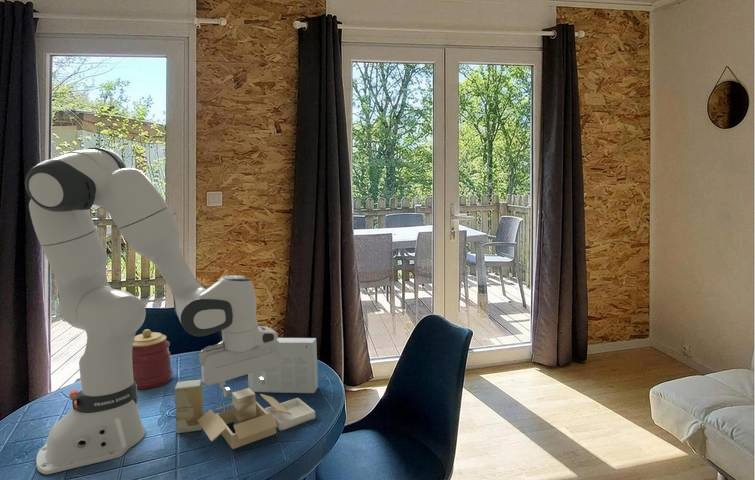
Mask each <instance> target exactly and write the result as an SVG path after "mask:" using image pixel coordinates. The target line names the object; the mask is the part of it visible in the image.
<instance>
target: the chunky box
mask: <svg viewBox="0 0 755 480" xmlns="http://www.w3.org/2000/svg"><path fill="white" fill-rule="evenodd" d="M231 398H232V399H231V403H232V404H233V405H232V409H233V420H234V422H233V425H235V424H239V423H242V422H245V421H248V420H251V419H254V418H257V416H256V402H257V401H256V392H253V391H252V390H251V389H250V388H249V387H247V388H244V389H240V390H237V391H233V392H231ZM233 430H234V431H235V429H234V428H233Z"/></svg>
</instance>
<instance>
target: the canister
mask: <svg viewBox="0 0 755 480" xmlns="http://www.w3.org/2000/svg"><path fill="white" fill-rule="evenodd" d="M170 345H171V343H170V341H169V340H167V335H165V334H163V333H161V332H159V331H158V332H156V331H151V329H148V328H147V329H143V331H142V332H141V333H140V334H137V335H135V338H134V342H133V348H132V363H133V378H134V379H135V382H136V384H137V390H147V389H148V390H149V389H153V388H157V387H160V386H162V385H165V384H167V383H168V382H170V380H171V379H172V375H173V369H172V362H171V361H172V360H171V351H169V347H170Z"/></svg>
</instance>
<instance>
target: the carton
mask: <svg viewBox="0 0 755 480" xmlns="http://www.w3.org/2000/svg"><path fill="white" fill-rule="evenodd" d="M260 396H261V397H262V398H263V399H264V401H266V403H268V404H269V405H270V406H273V407H274V408H275V409H276V410H277V411H278V412H281V413H285V414H289V415H291V413H290V412H289V411H288V410H287V409H285V408H284V407H283V406H282V405H281V404H280V403H281V402H279V401H278V400H277V399H276V398H275V397H274V396H270V395H266V394H263V393H260ZM230 406H233V404H232V402H229V403H226V404H223V405H220V406H218V407H216V408H215V409H214V410H219V409H223V408H226V407H230ZM256 417H257V418H254V419H251V420H248V421H245V422H242V423H239V424H235V425H234V424H233V430H234V429H235V430H234V431H235V433H234V432H233V431H232V430H231V429H230V428H229V426H228V424H232V423H234V420H233V408H229V409H226V410H223V411H220V412H217V413H214V411H213V410H212V409H211V408H210V409H209V410H208V411H206V412H205V413H203V416H202V417H201V418H200V419H198V420H197V421H198V422H199V424H200V425H201V427H202V431H204V433H205V434H206V436H207V437H208V439H209V440H210V441H211V442H213V441H215V440H216V439H217V438H218V437H219V436H220V435H222V437H223V438H224V440H225V441H226V442H227V444H228V446H229V447H230V448H231V449H232V450H235V449H237V448H241V447H243V446H246V445H248V444H252V443H254V442H257V441H259V440H262V439H265V438H268V437H271V436H273V435H276V434H277V424H276V420H275V419H274V418H273V416H272V413H268V412H267V411H266V410H265V409H264V407H263V406H262V405H261V404H260V403H259V402H258V401H256Z"/></svg>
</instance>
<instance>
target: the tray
mask: <svg viewBox="0 0 755 480" xmlns="http://www.w3.org/2000/svg"><path fill="white" fill-rule="evenodd" d="M279 403H280V404H281V405H282V406H283V407H284V408H285V409H287V410H288V411H289V412H290V413H291V415H289V414H285V413H281V412H278V411H277V410H276V409H275V408H274V407H273V406H271V405H270V406H267V407H265V408H264V407H263V408H264V409H265V410H266V411H267V412H268V413H272V416H273V418H274V419H275V420H276V424H277V427H276V429H278V431H280V432H282V431H285V430H287V429H290V428H292V427H295V426H299V425H301V424H303V423H306V422H309V421H311V420H315V419H316V411H315V410H314V409H313V408H312V407H310V405H308V404H307V403H306V402H304V401H303V400H302V399H300V398H299V397H295V398H293V399H292V398H291V399H289V400H286V401H284V402H279Z"/></svg>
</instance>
